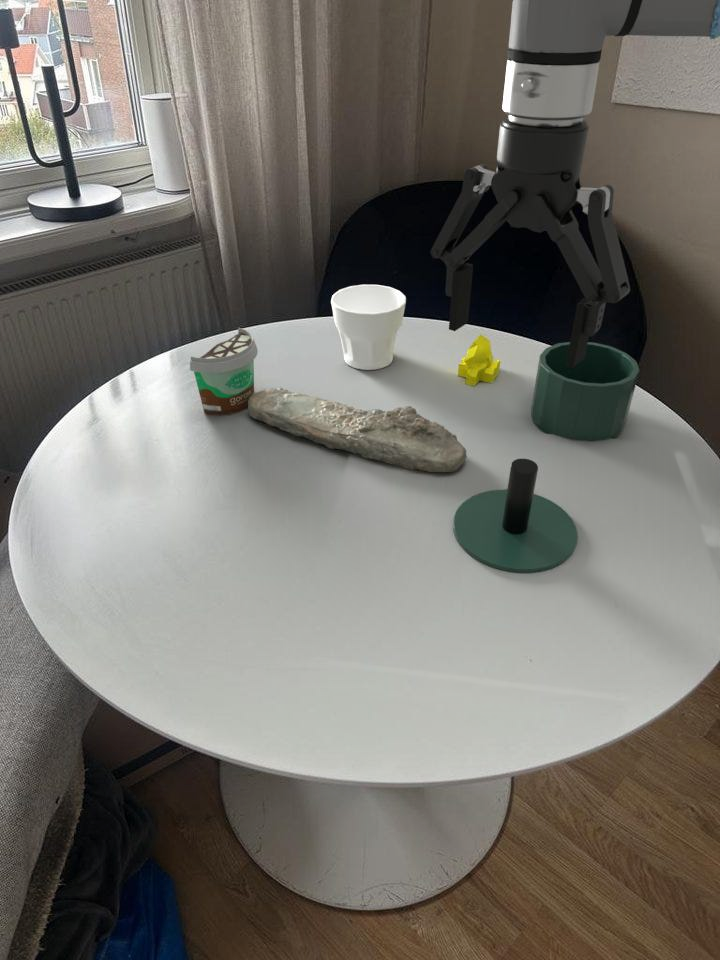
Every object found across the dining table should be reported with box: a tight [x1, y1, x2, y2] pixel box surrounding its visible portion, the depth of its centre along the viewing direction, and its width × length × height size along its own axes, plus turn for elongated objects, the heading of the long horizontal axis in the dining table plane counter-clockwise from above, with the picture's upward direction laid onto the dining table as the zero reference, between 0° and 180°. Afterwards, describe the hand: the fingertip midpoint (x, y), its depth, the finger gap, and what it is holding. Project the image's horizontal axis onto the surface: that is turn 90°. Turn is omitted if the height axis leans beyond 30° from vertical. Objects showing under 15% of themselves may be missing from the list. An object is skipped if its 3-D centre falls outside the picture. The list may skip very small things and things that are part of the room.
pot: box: [530, 341, 640, 442], centre depth 104 cm, size 14×14×10 cm
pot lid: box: [452, 458, 578, 574], centre depth 83 cm, size 15×15×10 cm
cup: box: [330, 284, 407, 371], centre depth 119 cm, size 12×12×11 cm
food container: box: [189, 327, 259, 416], centre depth 108 cm, size 12×6×10 cm, turn 150°
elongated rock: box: [247, 387, 467, 473], centre depth 102 cm, size 35×5×10 cm
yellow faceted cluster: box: [457, 333, 501, 387], centre depth 116 cm, size 6×8×8 cm
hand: (514, 343), depth 73 cm, fingers open, 13 cm apart
